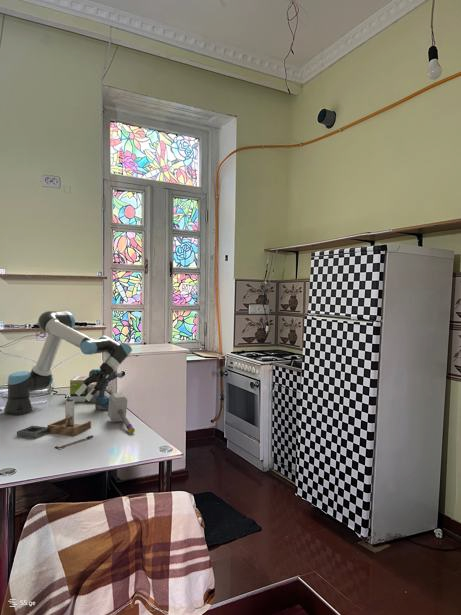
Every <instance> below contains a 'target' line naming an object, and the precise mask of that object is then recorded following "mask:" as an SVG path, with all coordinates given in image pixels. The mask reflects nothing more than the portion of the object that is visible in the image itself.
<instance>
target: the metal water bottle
mask: <svg viewBox="0 0 461 615" xmlns="http://www.w3.org/2000/svg"><path fill="white" fill-rule="evenodd" d="M75 403H76V402H75V400H73V398H70V397H68V398H66V400H65V403H64V404H65V410H64V412H65V414H64V416H65V417H64V418H65V427H73V428H74V424H75Z"/></svg>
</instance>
